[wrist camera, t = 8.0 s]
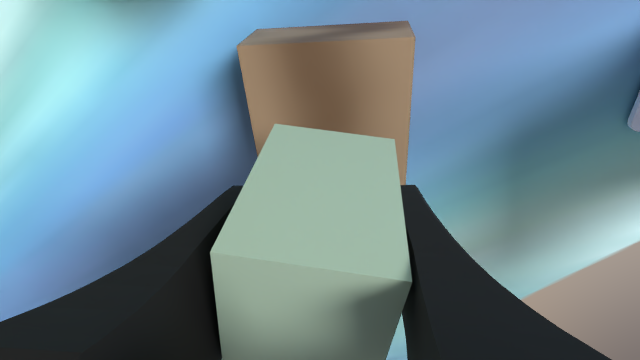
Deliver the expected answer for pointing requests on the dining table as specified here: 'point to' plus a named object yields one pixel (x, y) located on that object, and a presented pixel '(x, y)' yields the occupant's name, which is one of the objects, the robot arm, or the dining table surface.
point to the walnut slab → (332, 80)
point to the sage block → (314, 251)
